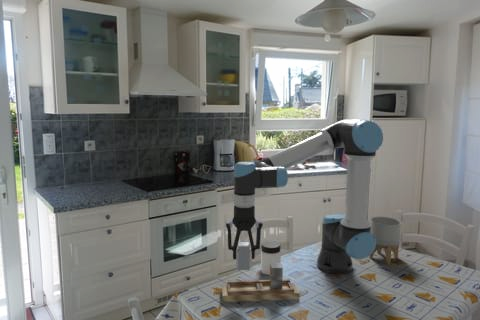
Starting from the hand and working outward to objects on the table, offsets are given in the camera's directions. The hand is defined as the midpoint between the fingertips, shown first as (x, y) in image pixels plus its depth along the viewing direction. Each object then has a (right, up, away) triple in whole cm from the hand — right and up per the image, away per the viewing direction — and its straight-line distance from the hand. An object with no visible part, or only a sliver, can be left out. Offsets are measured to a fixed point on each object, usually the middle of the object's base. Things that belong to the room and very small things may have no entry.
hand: (243, 266), depth 135 cm
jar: (+12, -9, +22) cm, 27 cm away
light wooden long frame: (+6, -11, +2) cm, 13 cm away
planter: (+66, -7, +37) cm, 76 cm away
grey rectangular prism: (0, 0, 0) cm, 0 cm away
